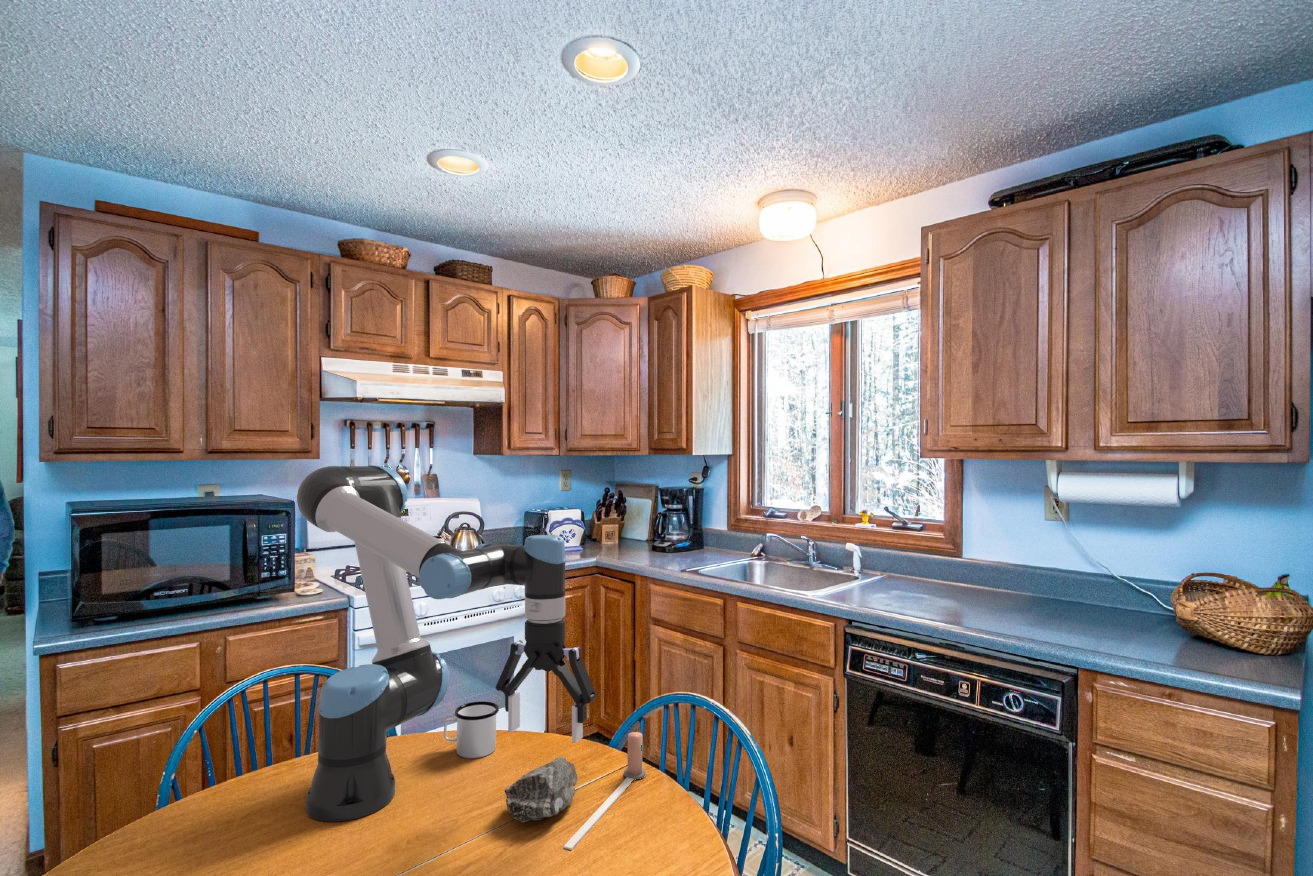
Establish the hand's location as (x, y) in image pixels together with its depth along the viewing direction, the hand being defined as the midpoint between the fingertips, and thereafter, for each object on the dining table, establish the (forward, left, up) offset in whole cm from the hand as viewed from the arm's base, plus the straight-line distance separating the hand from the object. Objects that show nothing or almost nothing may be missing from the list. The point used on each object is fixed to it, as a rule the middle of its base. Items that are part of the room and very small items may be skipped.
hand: (545, 734), depth 120 cm
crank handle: (+11, +5, -13) cm, 17 cm away
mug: (-27, +14, -13) cm, 33 cm away
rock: (0, 0, -13) cm, 13 cm away
